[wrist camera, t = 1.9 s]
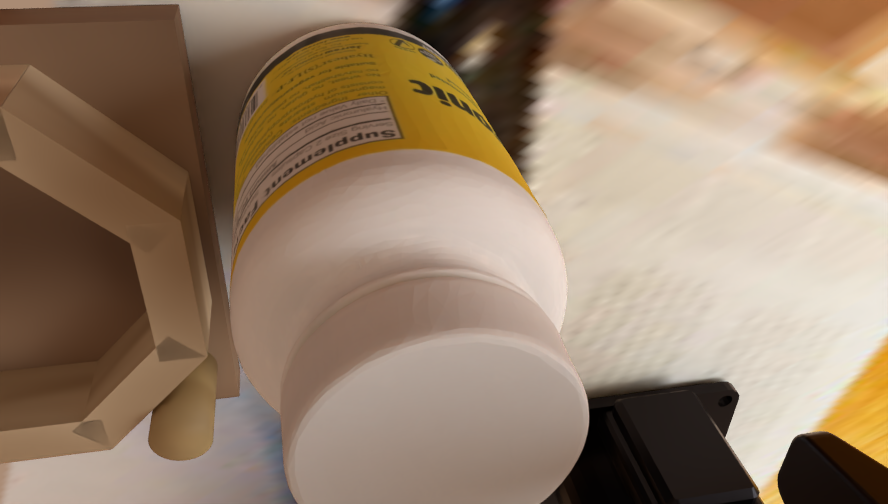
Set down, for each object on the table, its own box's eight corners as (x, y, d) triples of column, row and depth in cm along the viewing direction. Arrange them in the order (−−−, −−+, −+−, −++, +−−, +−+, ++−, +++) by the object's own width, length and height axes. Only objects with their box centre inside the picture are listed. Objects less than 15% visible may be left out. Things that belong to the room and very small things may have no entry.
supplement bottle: (503, 169, 19) (680, 486, 11) (311, 262, 19) (349, 631, 11) (414, -32, 16) (574, 210, 8) (187, 84, 16) (117, 427, 8)
